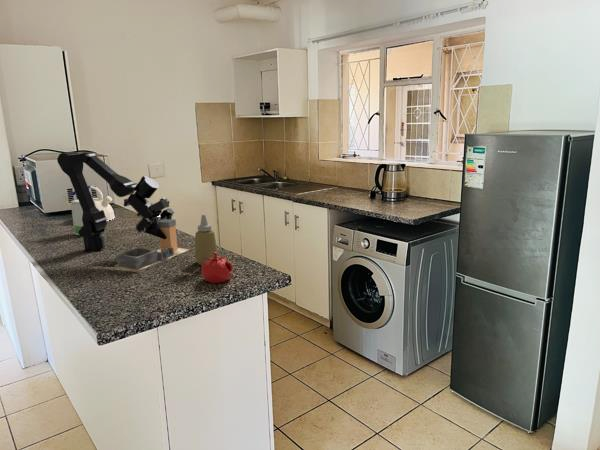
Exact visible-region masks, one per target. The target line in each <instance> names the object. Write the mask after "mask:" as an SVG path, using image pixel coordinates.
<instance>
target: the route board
mask: <svg viewBox="0 0 600 450" xmlns="http://www.w3.org/2000/svg"><path fill="white" fill-rule="evenodd" d="M190 250H191V249H190V248H183V247H178V250H177V251H175V252H174V251H173V247H168V249H163V250H162V251H161V247H160V248H158V249H150V248H145V247H143V248H141V247H135V248H133V249H132V248H131V249H129V250H126V251H123V252H121V253H118V254H116V262H117V264H115V265H114V269H116V270H121V271H129V272H134V273H139V274H141V273H144V272H146V271H148V270H150V268H149V267H152V266H154V265H157V264H159V263H161V262H163V261H167V260H169V259H171V258H173V257H175V256H178V255H181V254H183V253H186V252H189V251H190Z"/></svg>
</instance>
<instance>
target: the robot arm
mask: <svg viewBox="0 0 600 450" xmlns="http://www.w3.org/2000/svg"><path fill="white" fill-rule="evenodd" d="M56 159H57V160H56V161H57V164H58V166H59V168H60V169H61V171H62V172H64V174H66V175H67V176H68V178H69V181H70V182H71V184H72V187H73V190H74V191H75V193H76V194H75V196H76V197H77V200H79V203H80V205H81V208H82V210H83V216H82V222H83V226H82V228H81V229H80V230H79V232H78V233H79V237H80V238H82V239H83V244H84V245H83V246H84V250H83V253H84V252H85V253H87V252H88V253H89V252H100V251H102V250H103V249H104V248H105V244H106V243H105V239H104V236H103V233H105V229H106V227H107V225H108V222H107V221H106V220H107V218H106V216H105V213H104V211H103V210H101V211H99V210H98V209H97V208H96V206H95V204H94V201H93V198H94V197H93V196H92V194H91V191H90V188H88V186H89V185H88V183H87V181H86V179H85V176H84V173H83V171H84V164H85V165H87V166H88V167H89V168H90V169H91V170H93V172H95V173H96V174H97V175H98V176H99V177H101V178H102V179H103V180H104V181H105V182H107V184H108V185H109V189H110V190H111V191H112V192H113V194H114V195H116V197H118V198H123V197H128V198H124V199H123V206H124V208H125V207H129V206H131V207H132V209H133V210H134V211H135V212H137V214H136V216H137V217H141V219H140V220H139V222H138V223H137V224H136V226H135V229H136V231H137V232H138V233H139V234H142V233H144V234H148V235H151V236H154V237H157V238H159V239H160V238H162V239H166V238H167V237H166V235H165V234H164V233H163V232H162V230H161V229H160V228H159V227H158V223H157V222H158V221H161V220H163V219H172V218H173V216H174V214H175V211H174V210H173V209H172V208H170V200H168V198H166V197H161V198H159V200H158V201H157V202H149V201H148V200H147V199H150V198H151V197H152V196H153V195H154V194H155V192H156V191H157V190H158V189H159V188H160V184H159V183H158V182H157V181H156V180H155V179H153V178H151V177H148V176H147V175H143V176H142V177H141V178H140V180H139V181H138V183H136V182H134V181H132V180H131V179H129V178H127V177H126V176H124V175H120V174H118V173H117V172H116V171H114V169H112V168H111V167H110V166H109V165H108V164H107V163H105V162H104V161H103V160H102V159H101V158H100V157H98V156H97V155H96V153H95V152H93V151H86V152H81V153H79V152H77V151H67V152H62V153H59V155H58V156H57V158H56ZM176 234H178V232H177V230H176Z"/></svg>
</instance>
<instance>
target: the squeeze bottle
mask: <svg viewBox="0 0 600 450" xmlns="http://www.w3.org/2000/svg"><path fill="white" fill-rule="evenodd" d="M194 237H195V238H194V239H195V240H194V258H195V260H196V262H197V264H198V265H200V268H202V265H203V264H204V263H205V262H206V261H209V260H210V259H205V258H212V259H213V258H214V256H213V255H214V252H217V257H219V252H218V251H219V250H218V247H217V240H216V239H217V238H216V234H215V231H214V230H212V224H210V223H208V220H207V216H206V214H201V218H200V224H198V225H197V231H196V232H195V235H194Z"/></svg>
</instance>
